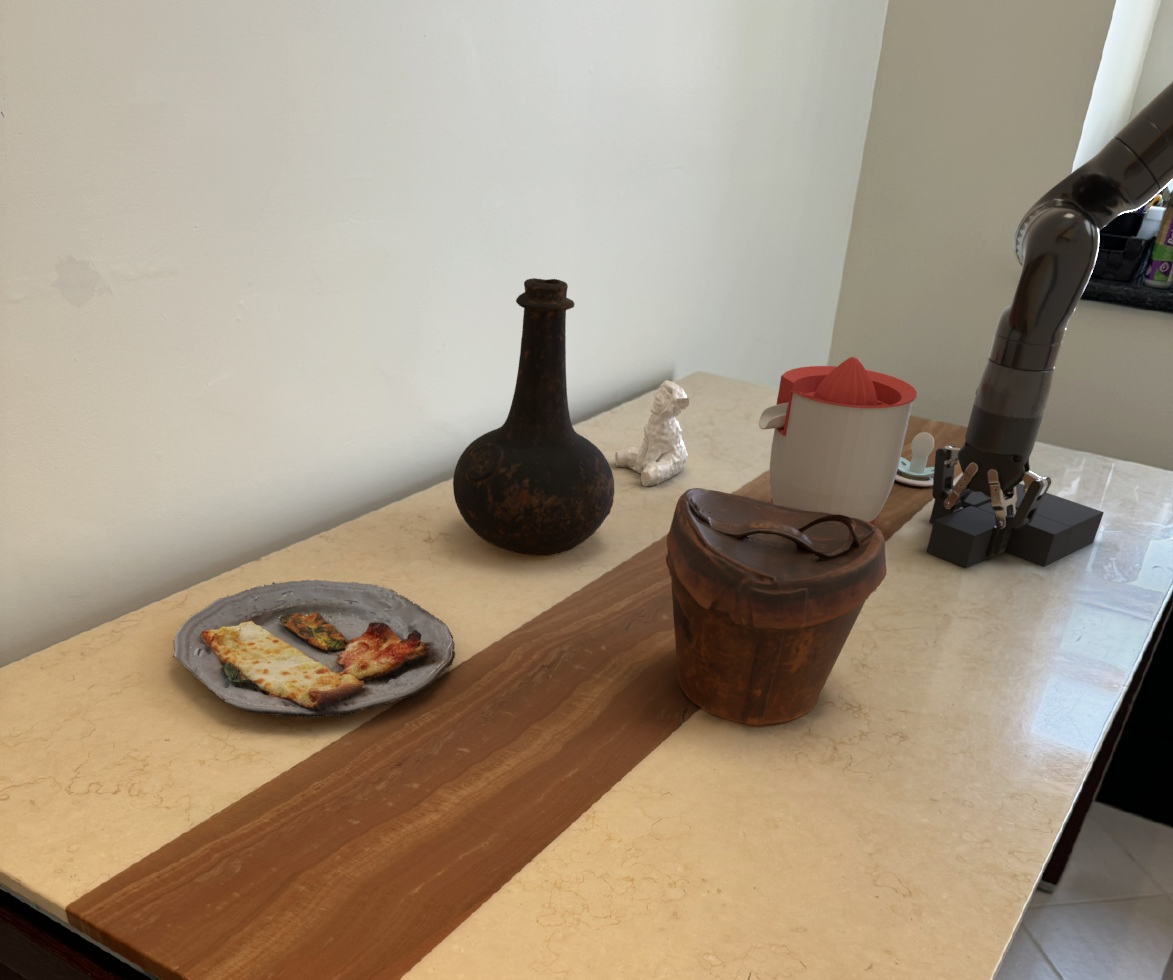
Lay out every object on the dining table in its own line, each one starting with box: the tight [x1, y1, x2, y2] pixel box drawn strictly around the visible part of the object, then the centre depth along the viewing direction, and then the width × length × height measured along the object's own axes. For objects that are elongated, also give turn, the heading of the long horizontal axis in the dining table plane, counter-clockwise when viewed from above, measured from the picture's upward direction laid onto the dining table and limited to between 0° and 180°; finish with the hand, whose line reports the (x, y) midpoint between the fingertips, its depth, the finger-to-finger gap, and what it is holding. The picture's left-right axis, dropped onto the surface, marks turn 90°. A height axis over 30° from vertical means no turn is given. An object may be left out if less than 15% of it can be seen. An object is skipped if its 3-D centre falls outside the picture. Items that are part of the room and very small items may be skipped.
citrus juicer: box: [758, 356, 918, 525], centre depth 130 cm, size 16×17×20 cm
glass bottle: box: [452, 277, 615, 557], centre depth 119 cm, size 18×18×28 cm
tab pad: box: [925, 502, 1017, 569], centre depth 132 cm, size 6×12×4 cm, turn 132°
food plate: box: [172, 579, 456, 719], centre depth 101 cm, size 25×23×4 cm
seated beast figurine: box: [614, 379, 690, 487], centre depth 144 cm, size 10×9×12 cm
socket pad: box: [929, 482, 1104, 567], centre depth 137 cm, size 16×12×4 cm
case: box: [665, 487, 888, 726], centre depth 97 cm, size 18×20×18 cm
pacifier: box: [894, 431, 935, 487], centre depth 149 cm, size 7×6×6 cm
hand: (969, 545), depth 132 cm, fingers closed on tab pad, 5 cm apart
